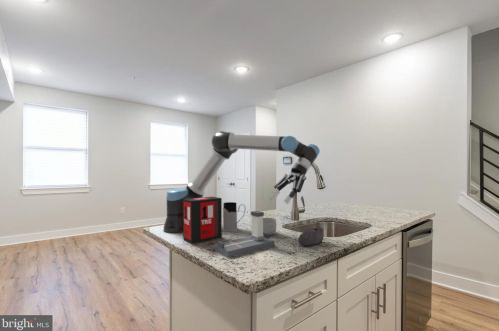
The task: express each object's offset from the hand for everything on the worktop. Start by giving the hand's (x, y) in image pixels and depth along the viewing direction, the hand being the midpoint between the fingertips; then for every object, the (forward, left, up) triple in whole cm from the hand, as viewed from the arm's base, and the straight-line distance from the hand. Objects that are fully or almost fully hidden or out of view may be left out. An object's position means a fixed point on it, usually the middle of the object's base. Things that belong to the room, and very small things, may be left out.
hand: (278, 200), depth 119 cm
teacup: (-13, +3, -19) cm, 23 cm away
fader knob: (0, -13, -16) cm, 21 cm away
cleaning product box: (-24, -29, -19) cm, 42 cm away
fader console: (0, -20, -19) cm, 27 cm away
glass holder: (-32, -5, -19) cm, 38 cm away
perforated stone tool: (+14, +7, -19) cm, 25 cm away
